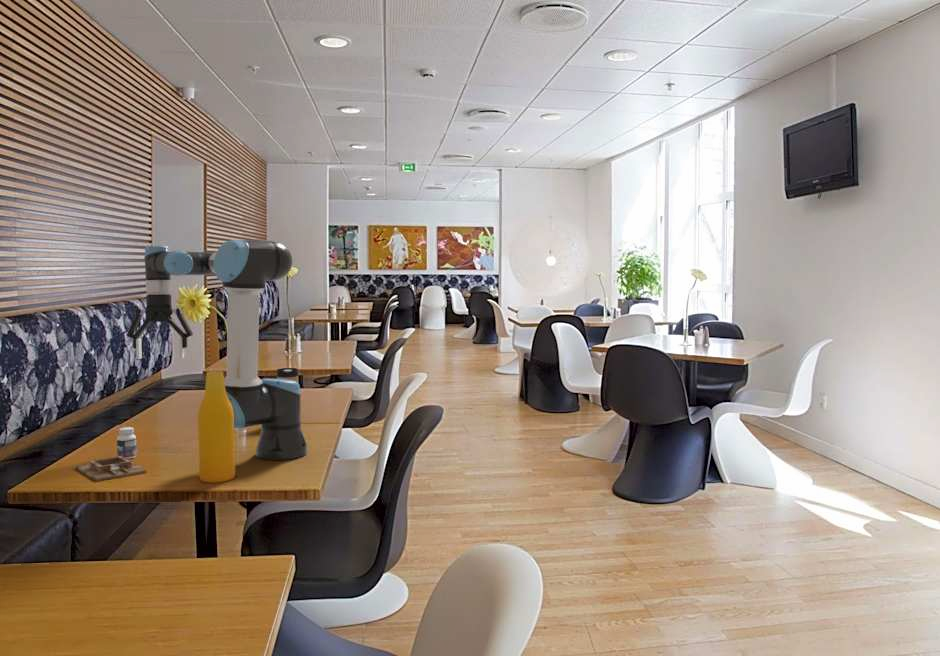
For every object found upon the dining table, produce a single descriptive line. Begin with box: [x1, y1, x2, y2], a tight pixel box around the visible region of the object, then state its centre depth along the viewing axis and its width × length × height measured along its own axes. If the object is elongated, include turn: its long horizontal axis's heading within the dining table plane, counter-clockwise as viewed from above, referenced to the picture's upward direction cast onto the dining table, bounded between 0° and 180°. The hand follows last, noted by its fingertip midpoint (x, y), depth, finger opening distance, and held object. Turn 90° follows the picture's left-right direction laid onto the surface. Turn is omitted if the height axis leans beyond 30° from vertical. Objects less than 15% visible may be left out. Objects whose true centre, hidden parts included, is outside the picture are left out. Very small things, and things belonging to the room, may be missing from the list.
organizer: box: [75, 456, 147, 482], centre depth 213 cm, size 18×13×3 cm
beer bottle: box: [197, 370, 236, 484], centre depth 204 cm, size 9×9×29 cm
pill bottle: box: [116, 426, 137, 460], centre depth 227 cm, size 5×5×9 cm
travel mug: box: [276, 367, 299, 383], centre depth 277 cm, size 8×8×20 cm
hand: (160, 358), depth 248 cm, fingers open, 13 cm apart
